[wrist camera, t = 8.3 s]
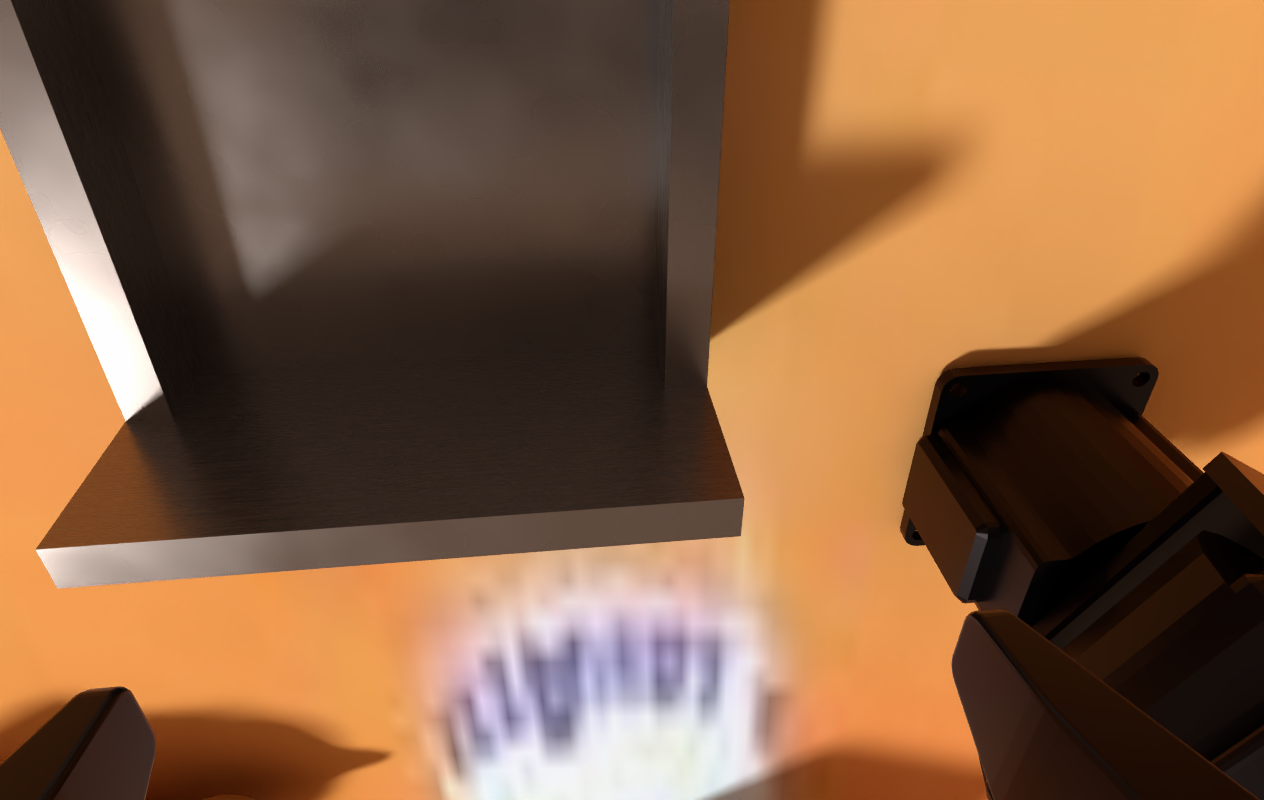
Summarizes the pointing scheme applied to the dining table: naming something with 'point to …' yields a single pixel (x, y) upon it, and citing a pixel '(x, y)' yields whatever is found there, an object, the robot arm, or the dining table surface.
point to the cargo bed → (380, 274)
